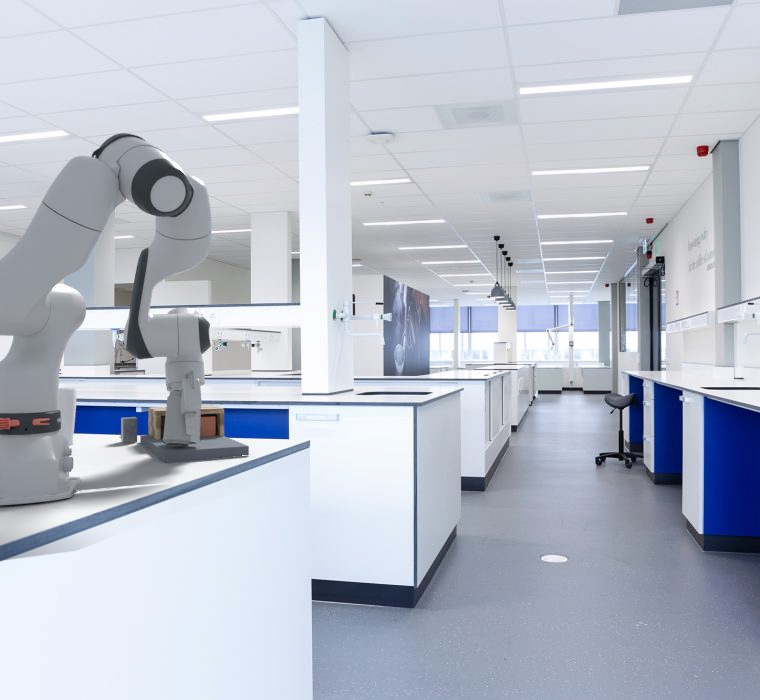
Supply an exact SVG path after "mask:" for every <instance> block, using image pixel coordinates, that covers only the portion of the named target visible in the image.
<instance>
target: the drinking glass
mask: <svg viewBox="0 0 760 700" xmlns="http://www.w3.org/2000/svg"><path fill="white" fill-rule="evenodd" d="M76 409H77V388H76V387H59V393H58V410H60V411H61V417H62V421H61V429H60V432H61V434H62V435H63V436H64V437H66V439H68V440H69V447H70V446H73V445H74V433H75V423H76V412H77V410H76Z"/></svg>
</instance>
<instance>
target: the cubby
mask: <svg viewBox="0 0 760 700" xmlns="http://www.w3.org/2000/svg"><path fill="white" fill-rule="evenodd" d="M200 411H201V415H213V416H215V417H216V435H218V436H225V408H223V407H220V406H217V405H213V404H207V405H205V404H204V405H202V406H201V410H200ZM147 414H148V416H147V417H148V420H147V428H148V429H147V433H148V434H147V435H149V436H151V437H153V438H154V439H156V440H161V435H162V434H164V426H165V416H166V406H154V407H153V406H151V407H149V406H148V408H147Z"/></svg>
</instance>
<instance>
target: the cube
mask: <svg viewBox="0 0 760 700" xmlns="http://www.w3.org/2000/svg"><path fill="white" fill-rule="evenodd" d="M201 436H216V417H215V416H213V415H201V418H200V437H201Z"/></svg>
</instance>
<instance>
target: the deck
mask: <svg viewBox="0 0 760 700" xmlns="http://www.w3.org/2000/svg"><path fill="white" fill-rule="evenodd" d="M163 436H164V434H162V435H161V440H156V439H154V438H153V437H151V436H149V435H148V434H141V435H140V437H139V438H140V441H139V442H141V443H140V444H142V445H143V446H144V448H146V449H147V448H148V449H147V450H149V451H150V452H151V453H152V454H153V455H155V457H157V458H158V459H159V460H161V461H162V463H164V464H169V463H182V462H195V461H205V460H206V459H208V460H214V459H213V458H220V459H224V458H223V457H231V458H234V457H233V456H242V455H249V456H250V450H249V449H250V446H249V445H246V444H244V443H242V442H239V441H237V440H235V439H233V438H230V437H227V436H225V435H224V436H218V435H216V436H201V437H200V442H192V443H190V444H189V445H188V446H172V445H167V444H166V443H165V442H164V441H163ZM206 461H207V460H206Z"/></svg>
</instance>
